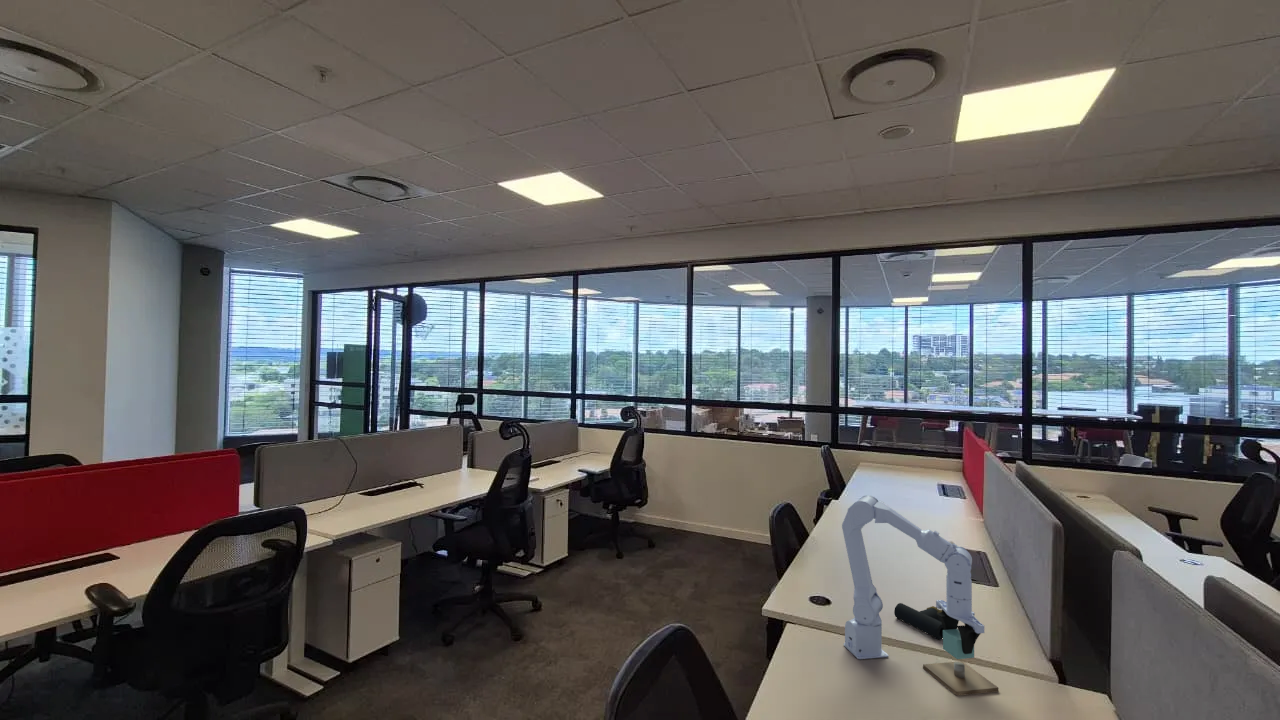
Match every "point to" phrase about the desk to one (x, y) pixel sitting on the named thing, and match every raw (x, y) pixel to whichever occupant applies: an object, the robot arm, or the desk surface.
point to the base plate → (960, 678)
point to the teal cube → (954, 644)
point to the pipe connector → (921, 619)
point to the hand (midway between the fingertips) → (959, 647)
